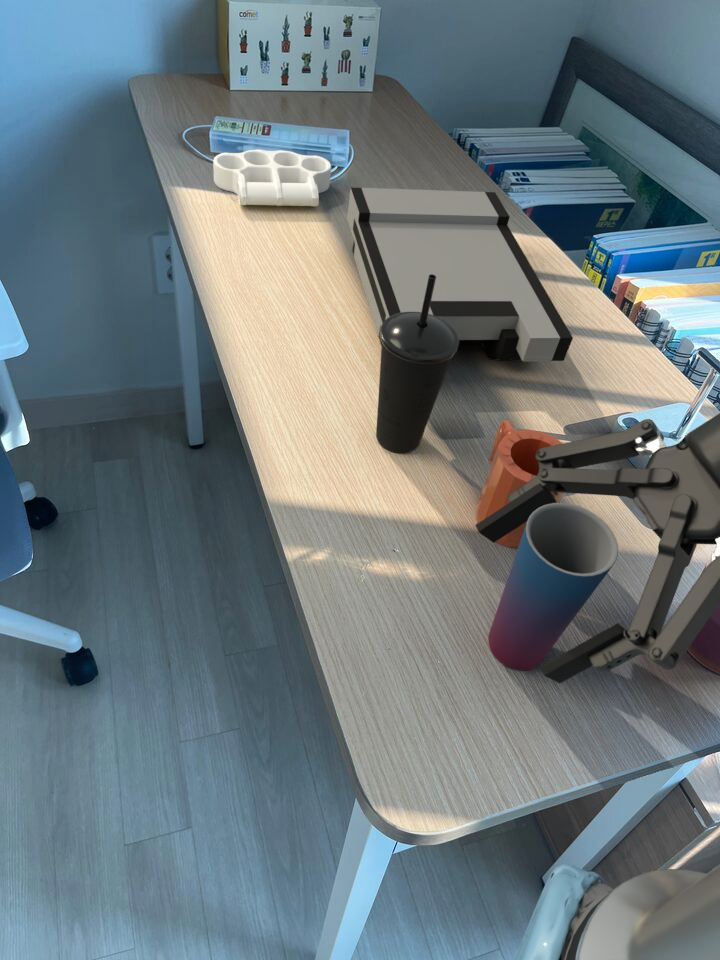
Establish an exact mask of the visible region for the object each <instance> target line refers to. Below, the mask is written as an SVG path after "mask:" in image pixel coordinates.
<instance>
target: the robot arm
mask: <svg viewBox="0 0 720 960" xmlns="http://www.w3.org/2000/svg"><path fill="white" fill-rule="evenodd" d="M664 441H665V437H664V434H663V433H662V431H661V430H660V429H659V427H658V426H657V424H656V423H655V422H654V421H653V420H652V419H651V418H645V419H643V420H640V421H639V422H637V423H635V424H634V425H631V426H630V427H628V428H626V429H624V430H621V431H616V432H612V433H606V434H601V435H597V436H591V437H587V438H583V439H578V440H573V441H568V442H562V443H563V444H558V445H554V446H549V447H544V448H541V449H539V450H538V451H537V452H536V455H535V456H536V459H537V460H538V463H539V472H538V474H537V476H536V477H534V478H533V479H532V480H530V481H529V482H527V483H526V484H524V485H523V486H521V487H519V488H518V489H517V490H515V491H513V492H512V493H511V494H510V495H509V496H508V500H509V502H510V503H508V504H507V505H505V506H504V507H502V508H501V509H499V510H498V511H496V512H495V513H493V514H492V515H490V516H489V517H487V518H486V519H484V520H483V521H481V522H479V523H478V522H477V523H475V527H476V530H477V532H478V533H479V534H480V535H482V536H483V537H485V538H487V539H488V540H489V541H490V542H492V543H493V544H494V543H497V542H496V541H497V540H499V539H500V538H502V537H504V536H505V535H507V534H508V533H510V532H511V531H513V530H514V529H516V528H518V527H519V526H521V525H522V524H524V523H525V522H527V521H528V518H529V516H530V515H531V514H532V513H533V512H534V511H535V510H536V509H538V508H539V507H541V506H544V505H547V504H551V503H556V502H557V501H556V500H555V498H554V496H553V495H552V494H551V492H554V493H555V494H556V495H559V494H558V493H557V492H562V493H565V494H580V495H595V496H597V495H598V496H611V497H612V496H613V497H626V498H628V499H632V501H633V502H634V504H635V505H636V507H637V508H638V509H639V510H640V511H641V513H642V514H643V515H644V516H645V518H646V522H647V524H648V525H649V527H650V528H651V530H652V531H653V532H654V534H655V535H656V536H657V537H658V538H659V539H660V540H659V543H658V546H657V549H658V552H657V556H656V558H655V561H654V563H653V566H652V567H651V571H650V573H649V576H648V579H647V581H646V583H645V586H644V589H643V592H642V594H641V597H640V599H639V602H638V605H637V607H636V610H635V612H634V615H633V617H632V620H631V622H630V624H629V627H628V629H626V628H624V626H622V625H621V624H620V623H615V624H614V625H612V626H610V627H608V628H607V629H605V630H603V631H601V632H599V633H597V634H596V635H594V636H591V637H590V638H589V639H587V640H585V641H583V642H582V643H579V644H578V645H576V646H575V647H573V648H571V649H569V650H568V651H566V652H564V653H562V654H560V655H559V656H556V657H555V658H553V659H551V660H549V661H548V662H546V663H544V664H542V665H541V666H540V669H541V671H542V673H543V676H545V677H546V678H548V679H550V680H552V681H554V682H555V683H558V684H561V683H564V682H565V681H568V680H569V679H571V678H573V677H574V676H576V675H578V674H580V673H582V672H584V671H585V670H587V669H589V668H591V667H593V669H596V671H599V672H600V673H604V672H609V671H611V670H613V669H615V668H617V667H620V665H623V664H625V663H626V662H628V661H630V660H631V659H634V658H636V657H637V656H641V655H645V656H646V657H648V658H649V659H650V660H651V661H653V662H654V663H655V664H657V665H658V666H660V667H661V668H662V669H664V670H666V671H669V670H673V669H674V668H675V667H677V665H678V663H679V662H680V660H681V659H682V658H683V656H685V654H686V652H687V651H688V649H689V648H690V646H691V645H692V644H693V642H694V641H695V639H696V638H697V637H698V635H699V633H701V631H702V629H703V628H704V626H705V625H706V623H707V622H708V620H709V619H710V618H711V616H712V615H713V613H714V612H715V610H716V609H717V608H718V606H719V605H720V412H719V413H718V414H716V415H715V416H713V417H711V418H710V419H708V420H707V421H705V422H703V423H702V424H701V425H699V426H697V427H696V428H694V429H692V430H691V431H690V432H688V433H686V435H685V436H684V438H683V439H681V440H680V441H679V442H678V443H675V444H673V445H669V446H667V445H666V443H665V442H664ZM638 456H642V457H650V458H649V459H648V462H647V464H646V466H645V468H638V467H637V468H636V467H631V468H630V467H620V468H619V469H599V468H598V469H593V468H592V469H591V468H585V467H590V466H595V465H602V464H604V463H611V462H616V461H621V460H626V459H627V460H628V459H630V458H636V457H638ZM574 468H576V469H574ZM697 545H716V548H715V550H714V551H713V552H712V553H711V560H712V561H711V562H710V563H709V564H708V565H707V566H706V567H705V568H704V570H703V571H702V572H701V574H700V575H699V577H698V578H697V579H696V581H695V582H694V584H693V585H692V587H691V588H690V589H689V591H688V593H687V594H686V595H685V596H684V598H683V599H682V601H681V603H680V604H679V605H678V606H677V608H676V609H675V611H674V612H673V614H672V615H671V617H670V618H669V619H668V621H667V622H666V619H667V616H668V614H669V611H670V609H671V606H672V603H673V601H674V598H675V596H676V593H677V590H678V589H679V588H678V587H679V585H680V582H681V580H682V577H683V575H684V572H685V570H686V568H687V567H689V566H690V563H691V561H692V558H693V555H694V553H695V551H696V548H697ZM665 622H666V624H665ZM664 624H665V625H664ZM518 947H519V948H518V950H517V952H516V955H515V958H514V960H720V863H719V864H717V865H716V866H715V867H714V868H712V869H710V870H709V871H708V872H707V873H705V872H702V871H696V870H690V869H680V868H679V869H677V868H667V869H666V868H665V869H654V870H650V871H647V872H643V873H640V874H637V875H635V876H633V877H631V878H629V879H627V880H624V881H623V882H622V883H620V884H618V885H617V886H616V887H614V888H612V887H610V886H609V885H607V884H606V882H605V878H604V877H602V876H600V874H598V873H597V872H595V871H593V870H592V871H591V870H590V871H587V870H585V869H583V868H580V867H578V866H576V865H573V864H569V863H562V864H559V865H557V866H556V867H554V868H553V870H552V871H551V873H550V874H549V876H548V877H547V880H546V882H545V884H544V886H543V888H542V891H541V893H540V895H539V897H538V899H537V903H536V904H535V907H534V910H533V912H532V915H531V917H530V920H529V921H528V925H527V927H526V930H525V931H524V935H523V938H522V940H521V942H520V945H519V946H518Z"/></svg>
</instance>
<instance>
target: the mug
mask: <svg viewBox="0 0 720 960" xmlns="http://www.w3.org/2000/svg"><path fill="white" fill-rule="evenodd" d="M494 438H495V439H494V442H493V444H492V447H491V451H490V453H489V456H488V460H487V462H488V466H489V470H488V472H487V475H486V479H485V481H484V484H483V487H482V489H481V492H480V494H479V498H478V500H477V505H476V507H475V508H476V509H475V519H476V522H477V524H478V523H479V522H481V521H483V520H484V519H486V518H487V517H489V516H490V515H492V514H493V513H495V512H496V511H498V510H499V509H501V508H502V507H504V506H505V505H507V504H508V503H510V502H509V500H508V496H509V495H510V494H511V493H512V492H513V491H515V490H517V489H518V488H519V487H521V486H523V485H524V484H526V483H527V482H529V481H530V480H532V479H533V478H534V477H536V476H537V474H538V472H539V463H538V460H537V459H536V456H535V455H536V452H537V451H538V450H539V449H541V448H544V447H549V446H554V445H558V444H563V443H564V442H562V441H561V440H560V439H558V438H556V437H555V436H552V435H550V434H548V433H545V432H543V431H539V430H532V429H520V430H517V429H516V427H515V426H514V424H513V422H512V421H511V420H510V419H503V420H502V421H501V422H500V424H499V427H498V430H497V432H496V435H495V437H494ZM574 469H577V468H574ZM557 493H558V494H559V495H556V494H555V493H554V492H551V494H552V495H553V496H554V498H555V500H556V501H557V502H556V503H562V500H563V497H564V495H565V494H566V493H562V492H557ZM526 523H527V522H525V523H524V524H522V525H521V526H519V527H518V528H516V529H514V530H513V531H511V532H510V533H508V534H507V535H505V536H504V537H502V538H500V539H499V540H497V541H496V542H495V543H497V544H500V545H502V546H505V547H507V548H508V547H509V548H515V549H518V547H519V544H520V541H521V538H522V535H523V532H524V529H525V526H526Z"/></svg>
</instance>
